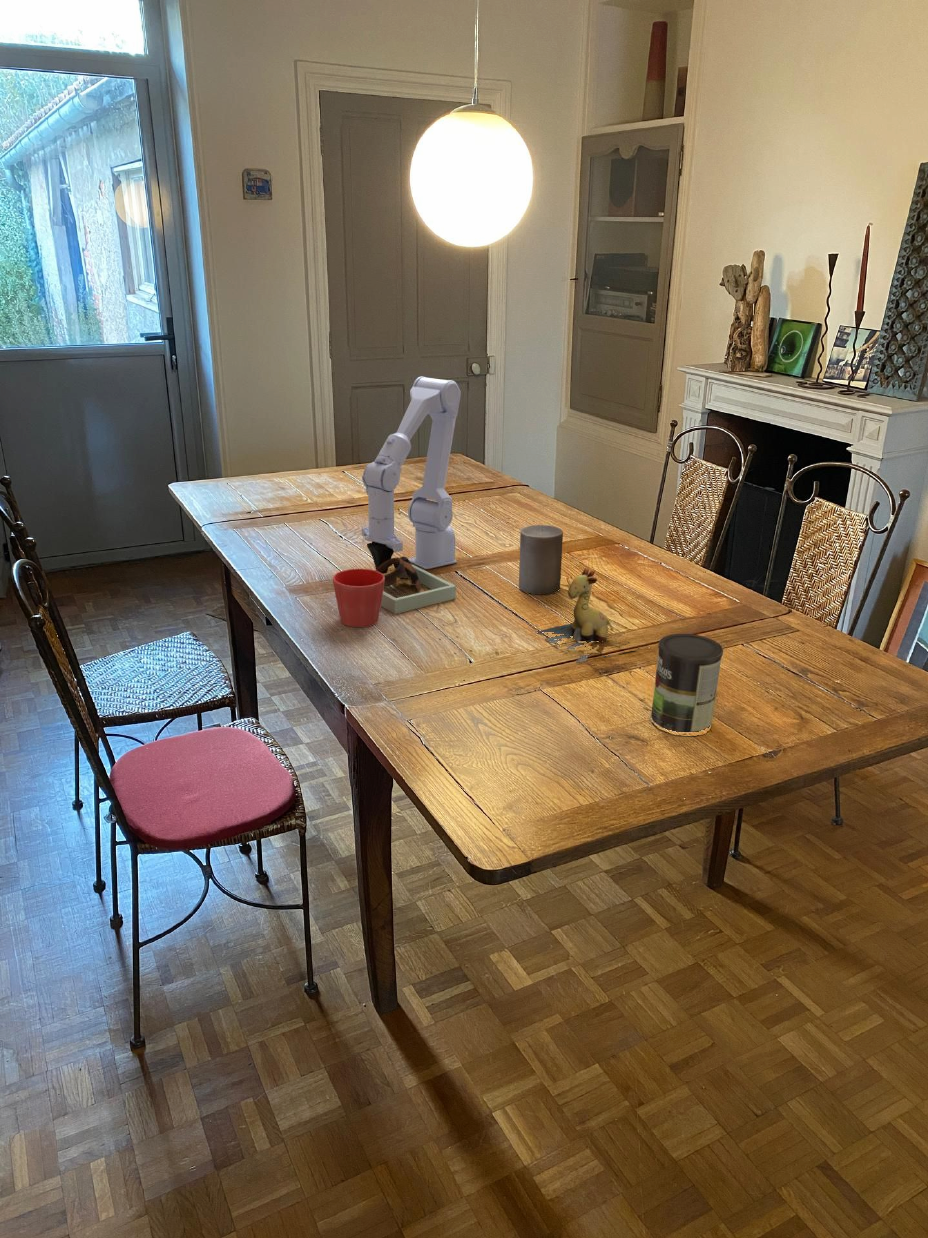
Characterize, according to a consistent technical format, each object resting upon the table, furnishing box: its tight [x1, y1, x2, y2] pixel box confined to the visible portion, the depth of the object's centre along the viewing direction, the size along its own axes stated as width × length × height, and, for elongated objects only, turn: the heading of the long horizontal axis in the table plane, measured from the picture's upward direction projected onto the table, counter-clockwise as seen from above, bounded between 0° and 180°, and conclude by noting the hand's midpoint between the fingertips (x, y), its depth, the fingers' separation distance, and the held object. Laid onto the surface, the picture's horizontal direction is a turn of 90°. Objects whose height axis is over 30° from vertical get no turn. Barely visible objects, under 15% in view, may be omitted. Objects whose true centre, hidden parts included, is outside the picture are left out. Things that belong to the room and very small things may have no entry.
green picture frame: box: [381, 564, 457, 615], centre depth 210 cm, size 16×17×3 cm
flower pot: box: [332, 568, 385, 628], centre depth 194 cm, size 11×11×10 cm
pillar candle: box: [518, 524, 564, 596], centre depth 213 cm, size 10×10×15 cm
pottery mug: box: [377, 555, 422, 593], centre depth 213 cm, size 12×10×8 cm
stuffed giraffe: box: [536, 567, 625, 664], centre depth 186 cm, size 16×18×16 cm
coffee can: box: [650, 633, 724, 732], centre depth 156 cm, size 10×10×14 cm
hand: (382, 573), depth 216 cm, fingers closed
